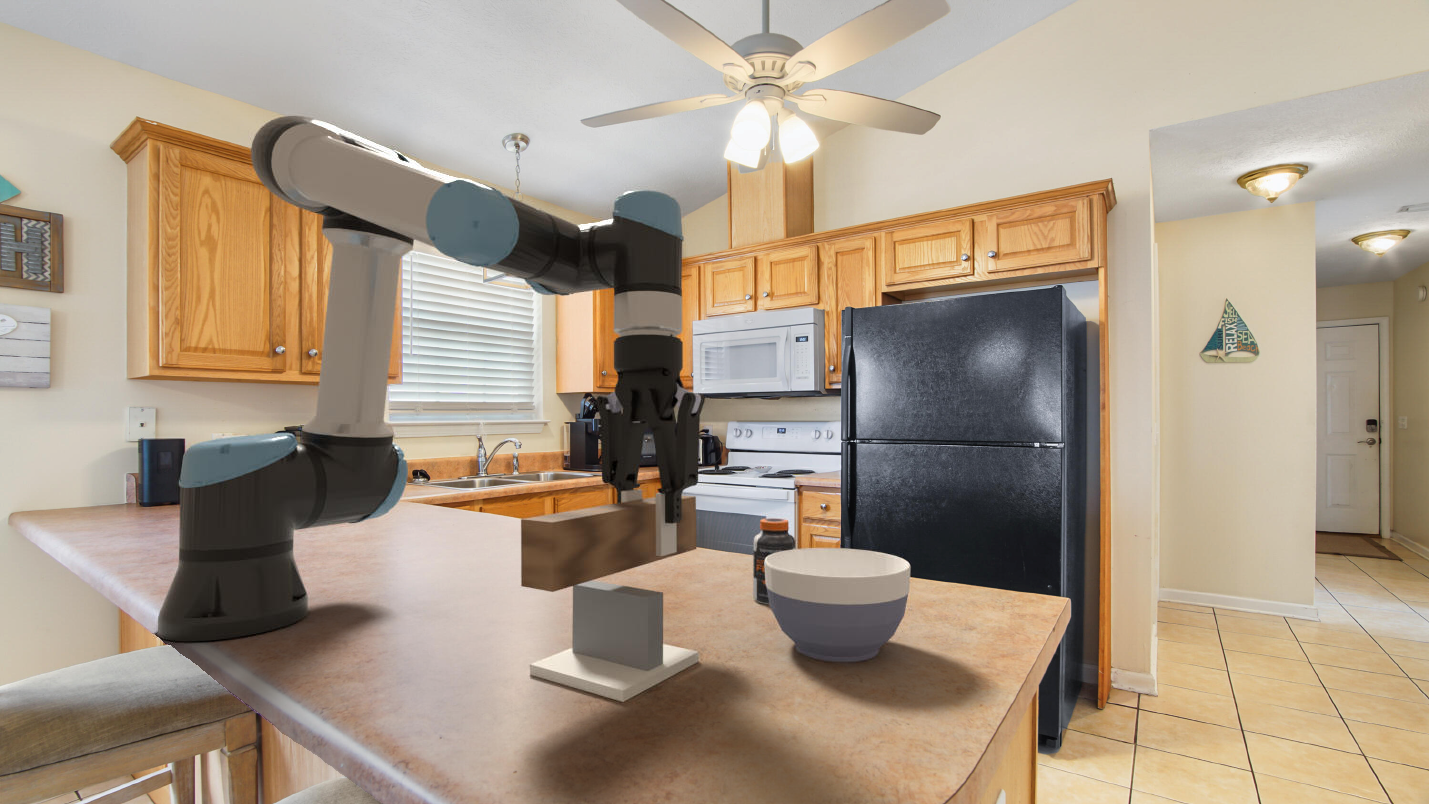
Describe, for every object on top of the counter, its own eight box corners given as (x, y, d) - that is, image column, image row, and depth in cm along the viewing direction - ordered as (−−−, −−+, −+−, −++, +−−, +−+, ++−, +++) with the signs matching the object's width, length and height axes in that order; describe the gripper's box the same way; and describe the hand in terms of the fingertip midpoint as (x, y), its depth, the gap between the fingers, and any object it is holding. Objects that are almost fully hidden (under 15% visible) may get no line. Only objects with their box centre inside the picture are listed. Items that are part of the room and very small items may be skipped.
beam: (552, 591, 57) (552, 522, 57) (521, 586, 59) (521, 519, 60) (696, 549, 76) (695, 496, 76) (668, 545, 78) (667, 494, 78)
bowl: (921, 636, 77) (920, 554, 77) (898, 685, 63) (896, 583, 63) (790, 619, 84) (790, 543, 84) (742, 660, 69) (742, 568, 70)
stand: (529, 674, 65) (530, 592, 66) (611, 641, 75) (611, 570, 76) (622, 701, 59) (623, 611, 59) (698, 661, 69) (698, 584, 69)
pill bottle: (750, 604, 91) (750, 521, 91) (755, 593, 97) (755, 516, 97) (794, 606, 90) (794, 522, 90) (796, 595, 96) (796, 516, 96)
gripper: (732, 334, 71) (734, 553, 70) (612, 345, 80) (612, 539, 79) (692, 325, 65) (694, 566, 64) (567, 339, 74) (566, 549, 73)
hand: (648, 551), depth 72 cm, fingers closed on beam, 4 cm apart
